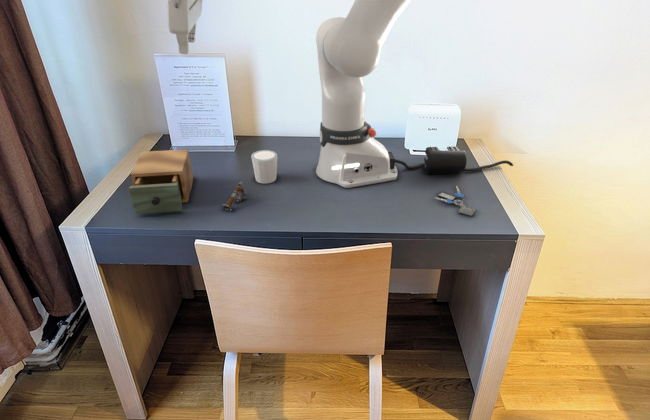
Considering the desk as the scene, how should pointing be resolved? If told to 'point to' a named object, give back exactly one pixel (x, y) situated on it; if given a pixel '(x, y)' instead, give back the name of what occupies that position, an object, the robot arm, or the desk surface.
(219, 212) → the desk surface
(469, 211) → the key chain
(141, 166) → the cabinet
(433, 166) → the black cylinder
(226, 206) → the wooden post with brackets
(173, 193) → the drawer
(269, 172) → the white cup
